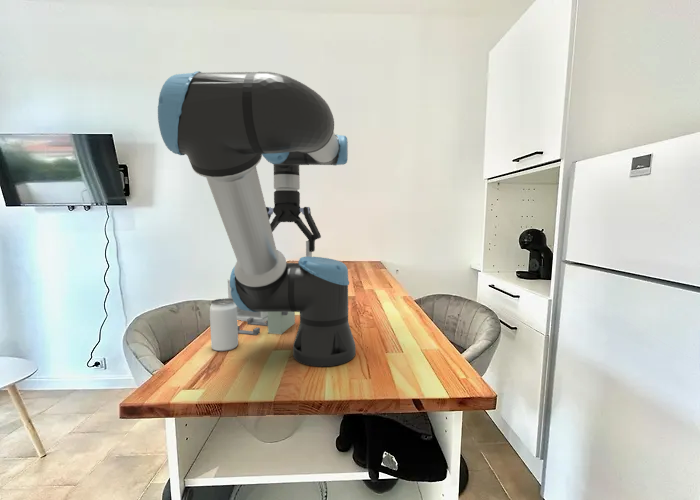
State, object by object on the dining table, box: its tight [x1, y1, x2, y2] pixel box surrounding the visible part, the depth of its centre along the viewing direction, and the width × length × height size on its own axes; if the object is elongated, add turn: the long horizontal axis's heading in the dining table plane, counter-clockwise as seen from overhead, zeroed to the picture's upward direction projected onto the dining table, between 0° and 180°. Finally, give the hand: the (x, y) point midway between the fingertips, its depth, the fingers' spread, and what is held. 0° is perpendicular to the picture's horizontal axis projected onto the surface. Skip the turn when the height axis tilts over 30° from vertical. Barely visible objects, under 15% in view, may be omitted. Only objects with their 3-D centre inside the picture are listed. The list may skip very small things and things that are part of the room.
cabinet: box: [227, 278, 268, 336], centre depth 108 cm, size 18×15×13 cm
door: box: [267, 312, 296, 335], centre depth 104 cm, size 10×5×10 cm, turn 166°
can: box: [209, 297, 239, 352], centre depth 89 cm, size 6×6×12 cm
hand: (287, 262), depth 106 cm, fingers open, 13 cm apart
